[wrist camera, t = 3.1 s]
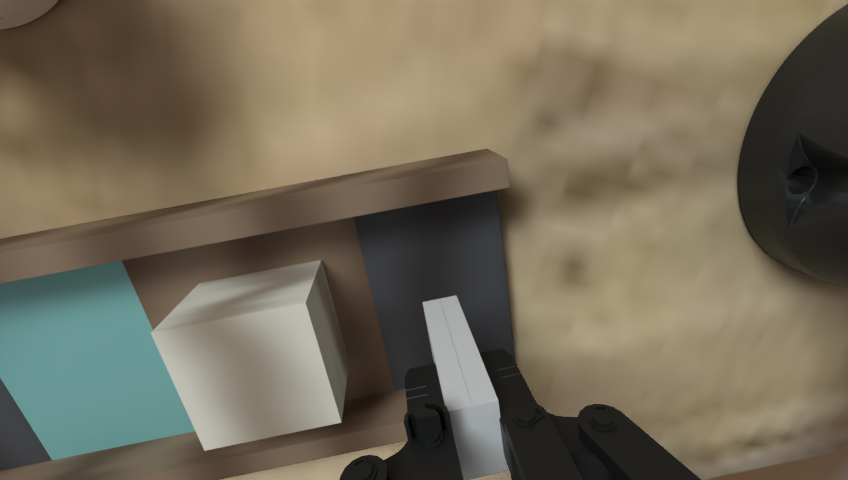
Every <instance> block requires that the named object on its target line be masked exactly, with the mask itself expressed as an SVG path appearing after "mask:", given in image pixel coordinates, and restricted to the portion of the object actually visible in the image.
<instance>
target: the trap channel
mask: <svg viewBox="0 0 848 480" xmlns="http://www.w3.org/2000/svg"><path fill="white" fill-rule="evenodd" d="M509 187H510V182H509V171H508V161H507V159H506V158H504V157H502V156H500V155H498V154H496V153H494V152H492V151H490V150H488V149H483V150H478V151H472V152H467V153H462V154H456V155H451V156H445V157H440V158H435V159H429V160H424V161H418V162H413V163H408V164H402V165H397V166H391V167H386V168H381V169H375V170H370V171H364V172H359V173H354V174H348V175H343V176H337V177H332V178H327V179H321V180H316V181H310V182H305V183H300V184H294V185H289V186H283V187H278V188H273V189H267V190H262V191H256V192H251V193H246V194H240V195H235V196H229V197H224V198H219V199H213V200H208V201H202V202H197V203H192V204H186V205H181V206H175V207H170V208H165V209H159V210H154V211H148V212H143V213H138V214H132V215H127V216H121V217H116V218H111V219H105V220H100V221H94V222H89V223H84V224H78V225H73V226H67V227H62V228H57V229H51V230H46V231H40V232H35V233H30V234H24V235H19V236H13V237H8V238H3V239H0V283H6V282H11V281H16V280H21V279H27V278H32V277H37V276H43V275H48V274H53V273H59V272H64V271H69V270H74V269H80V268H85V267H90V266H96V265H101V264H106V263H112V262H117V261H122V263H123V265H124V267H125V269H126V272H127V274H128V276H129V278H130V280H131V283H132V285H133V287H134V289H135V291H136V294H137V296H138V298H139V300H140V302H141V305H142V307H143V309H144V311H145V313H146V316H147V318H148V320H149V322H150V324H151V327H152V329H153V330H154V329H155V328H156V327H157V326H158V325H159V324H160V323H161V322H162V321H163V320H164V319H165V318H166V317H167V316H168V315H169V314H170V313H171V312H172V311H173V309H174V308H175V307H176V306H177V305H178V304H179V303H180V302H181V301H182V300H183V299H184V298H185V297H186V296H187V295H188V294H189V293H190V292H191V291H192V290H193V289H194V288H195V287H196V286H197V285H198V284H199V283H203V282H208V281H213V280H218V279H224V278H229V277H234V276H239V275H244V274H250V273H255V272H260V271H265V270H271V269H276V268H281V267H286V266H291V265H297V264H302V263H307V262H312V261H317V260H322V264H323V267H324V271H325V275H326V278H327V282H328V285H329V289H330V293H331V296H332V300H333V304H334V307H335V311H336V315H337V318H338V322H339V326H340V329H341V333H342V336H343V340H344V344H345V347H346V351H347V355H348V358H349V366H348V375H347V383H346V391H345V399H344V407H343V415H342V423H337V424H333V425H328V426H323V427H318V428H313V429H308V430H303V431H299V432H294V433H289V434H284V435H279V436H274V437H269V438H265V439H260V440H255V441H250V442H245V443H240V444H235V445H231V446H226V447H221V448H216V449H211V450H206V451H204V449H203V446H202V444H201V442H200V440H199V438H198V435H197V433H196V431H194V432H189V433H184V434H179V435H174V436H170V437H165V438H160V439H155V440H150V441H145V442H140V443H135V444H130V445H125V446H121V447H116V448H111V449H106V450H101V451H96V452H91V453H86V454H81V455H76V456H71V457H67V458H62V459H57V460H52V459H51V458H50V456H49V454H48V453H47V451H46V450H45V448H44V446H43V445H42V443H41V442H40V440H39V439H38V437H37V435H36V434H35V432H34V431H33V429H32V427H31V426H30V424H29V423H28V421H27V419H26V418H25V416H24V415H23V413H22V412H21V410H20V408H19V407H18V405H17V404H16V402H15V400H14V399H13V397H12V396H11V394H10V392H9V391H8V389H7V388H6V386H5V385H4V383H3V381H2V380H1V378H0V480H220V479H224V478H229V477H234V476H239V475H244V474H248V473H253V472H258V471H263V470H268V469H272V468H277V467H282V466H287V465H292V464H296V463H301V462H306V461H311V460H316V459H320V458H325V457H330V456H335V455H340V454H344V453H349V452H354V451H359V450H364V449H368V448H373V447H378V446H383V445H388V444H392V443H397V442H402V441H407V440H408V438H407V434H406V430H405V425H404V417H405V414H406V413H407V411H408V410H407V399H406V390H405V380H404V379H405V377H406V374H407V372H408V370H409V369H410V368H415V367H420V366H425V365H429V364H434V360H433V355H432V350H431V345H430V340H429V334H428V329H427V324H426V319H425V313H424V308H423V303H422V302H426V301H431V300H436V299H440V298H445V297H450V296H455V295H456V296H457V298H458V301H459V303H460V306H461V308H462V311H463V313H464V316H465V318H466V321H467V323H468V326H469V328H470V331H471V333H472V336H473V338H474V341H475V343H476V346H477V348H478V351H479V353H482V352H487V351H491V350H496V349H501V348H502V349H504V350H505V351H506V352H508V353H509V354H510V355H512V357H513V359H514V361H515V354H514V345H513V336H512V327H511V318H510V309H509V300H508V291H507V282H506V273H505V264H504V255H503V246H502V237H501V228H500V219H499V210H498V200H497V191H496V190H498V189H504V188H509Z"/></svg>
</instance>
